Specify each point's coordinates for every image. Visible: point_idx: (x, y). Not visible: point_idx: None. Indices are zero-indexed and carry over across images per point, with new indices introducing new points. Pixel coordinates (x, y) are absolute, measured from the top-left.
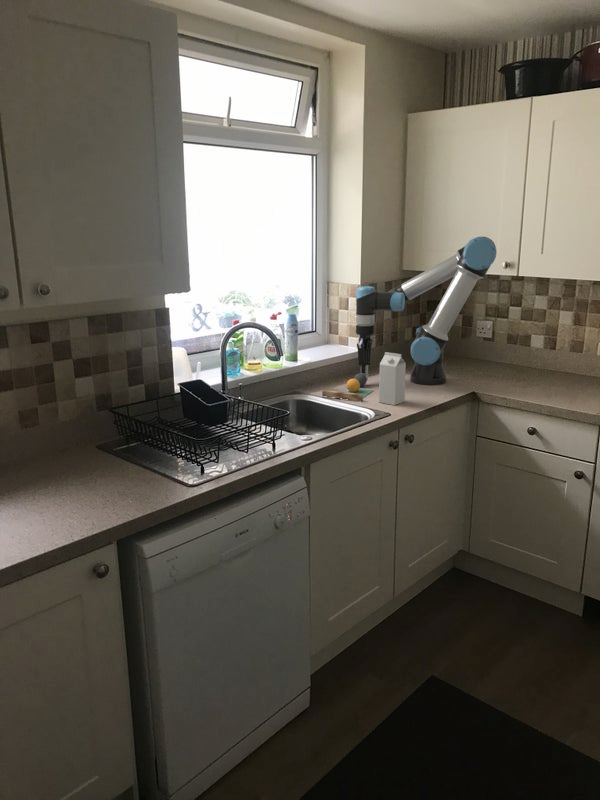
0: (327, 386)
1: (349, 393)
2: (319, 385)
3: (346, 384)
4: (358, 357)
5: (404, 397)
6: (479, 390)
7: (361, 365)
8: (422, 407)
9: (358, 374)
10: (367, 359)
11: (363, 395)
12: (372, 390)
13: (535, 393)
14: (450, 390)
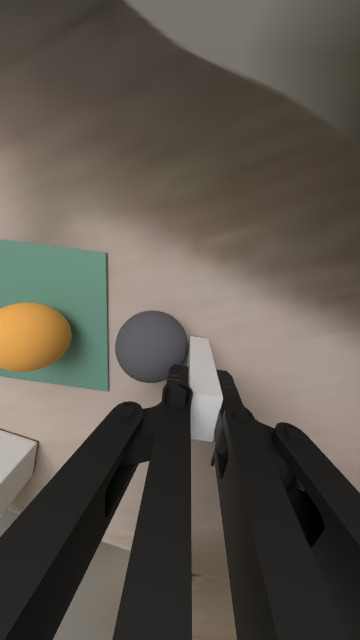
0: (101, 163)
1: None
2: (104, 93)
3: (5, 306)
4: (24, 511)
5: (20, 489)
6: (208, 582)
7: (155, 408)
8: (10, 504)
9: (130, 355)
10: (221, 504)
11: (24, 372)
12: (105, 389)
13: (209, 630)
14: (191, 546)
